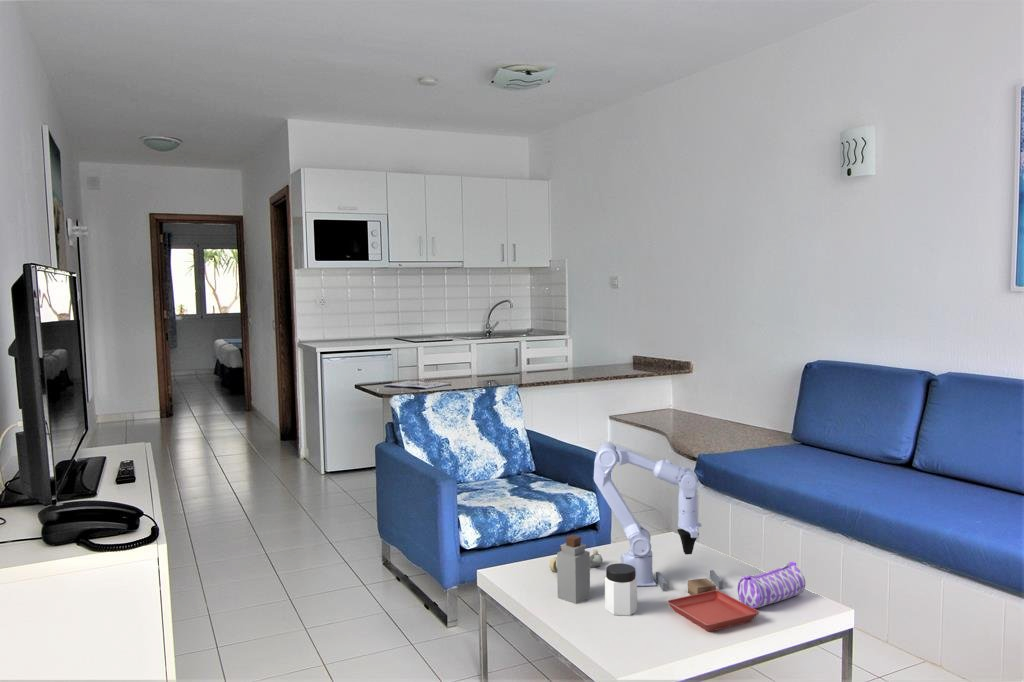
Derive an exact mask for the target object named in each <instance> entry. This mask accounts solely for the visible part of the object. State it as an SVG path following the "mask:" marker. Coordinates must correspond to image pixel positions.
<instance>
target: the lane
mask: <svg viewBox="0 0 1024 682" xmlns="http://www.w3.org/2000/svg"><path fill="white" fill-rule="evenodd" d="M709 579H710V581H711V582H712V583H713V584H715V585H716V588H717V589H718V590H723V580H722V579H721V578H720V576H719V575H718V574H717V573H716V572H715V570H714V569H710V570H709ZM655 581H656V583H657V582H658V583H657V584H658V586H659V585H660V586H659V587H660V589H661V591H662V592H667V582H666V580H665V579H664V577H663V576H662V574H661V572H660V571H656V572H655Z"/></svg>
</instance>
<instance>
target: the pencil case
mask: <svg viewBox="0 0 1024 682" xmlns="http://www.w3.org/2000/svg"><path fill="white" fill-rule="evenodd" d="M805 588H806V579H805V576H804V574H803V572H802V571H801V569H799V568H798V567H797V563H796V562H795V561H789V562H787V563H786V564H785V565H782V566H780V567H779V568H776V569H773V570H770V571H767V572H763V573H760V574H757V575H741V578H740V579H739V582H738V583H737V595H738V598H739V601H740V602H742V603H744V604H746V605H748V606H750V607H752V608H754V609H757V608H761V607H764V606H766V605H771V604H773V603H774V604H775V603H777V602H780V601H784V600H786V599H787V600H788V599H790V598H792V597H795V596H798V595H800V594H802V593H803V592H804V590H805Z"/></svg>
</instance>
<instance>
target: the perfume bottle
mask: <svg viewBox="0 0 1024 682" xmlns="http://www.w3.org/2000/svg"><path fill="white" fill-rule="evenodd" d="M560 547H561V549H562V551H560V550H559V551H557V552H556V556H557V572H556V573H557V575H556V578H557V579H556V580H557V599H560V600H564V601H566V602H569V603H572V604H574V605H575V604H576V605H577V604H578V603H581V602H582V601H584V600H587V599H588V598H590V597H591V573H590V572H591V567H590V556H591V555H590V554H591V552H590V551H587V550H586V547H587V544H585V543H582V537H581V536H578V535H574V534H571V535H568V536H566V537H565V543H562V544H560Z"/></svg>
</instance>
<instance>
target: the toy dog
mask: <svg viewBox="0 0 1024 682" xmlns="http://www.w3.org/2000/svg"><path fill="white" fill-rule="evenodd" d="M560 551H562V549H561V546H560V547H559V552H560ZM592 552H593V554H591V555H590V568H596V566H597V567H601V565H602V564H603V561H604V559H603V556H602V554H599V551H598V550H597V549H596V550H595V549H594V550H593V551H592ZM549 569H550V571H552V572H554V573H557V557H553V558H551V560H550V562H549Z"/></svg>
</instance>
